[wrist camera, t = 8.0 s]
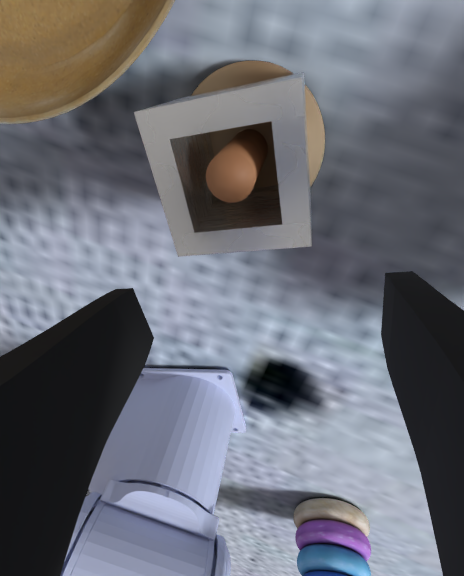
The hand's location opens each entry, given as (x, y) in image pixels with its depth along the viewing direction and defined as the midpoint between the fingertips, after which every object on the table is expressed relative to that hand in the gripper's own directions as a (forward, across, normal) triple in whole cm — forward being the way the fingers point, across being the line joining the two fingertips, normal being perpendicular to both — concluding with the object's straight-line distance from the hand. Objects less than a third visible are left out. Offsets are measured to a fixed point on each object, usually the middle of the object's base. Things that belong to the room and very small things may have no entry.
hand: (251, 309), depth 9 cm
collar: (+9, +1, -3) cm, 10 cm away
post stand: (+10, +1, -3) cm, 10 cm away
